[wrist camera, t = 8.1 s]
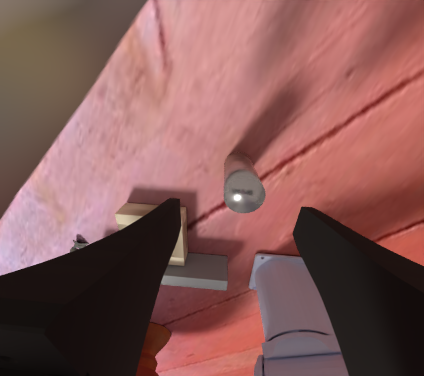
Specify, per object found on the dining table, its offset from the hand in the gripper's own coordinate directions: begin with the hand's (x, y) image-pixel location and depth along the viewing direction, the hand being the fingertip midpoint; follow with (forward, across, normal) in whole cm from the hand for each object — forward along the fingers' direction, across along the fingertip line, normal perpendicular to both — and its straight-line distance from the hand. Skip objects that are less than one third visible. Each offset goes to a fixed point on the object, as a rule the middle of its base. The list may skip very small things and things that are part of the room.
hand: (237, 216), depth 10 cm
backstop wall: (+9, +10, +15) cm, 20 cm away
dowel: (+9, -1, 0) cm, 9 cm away
